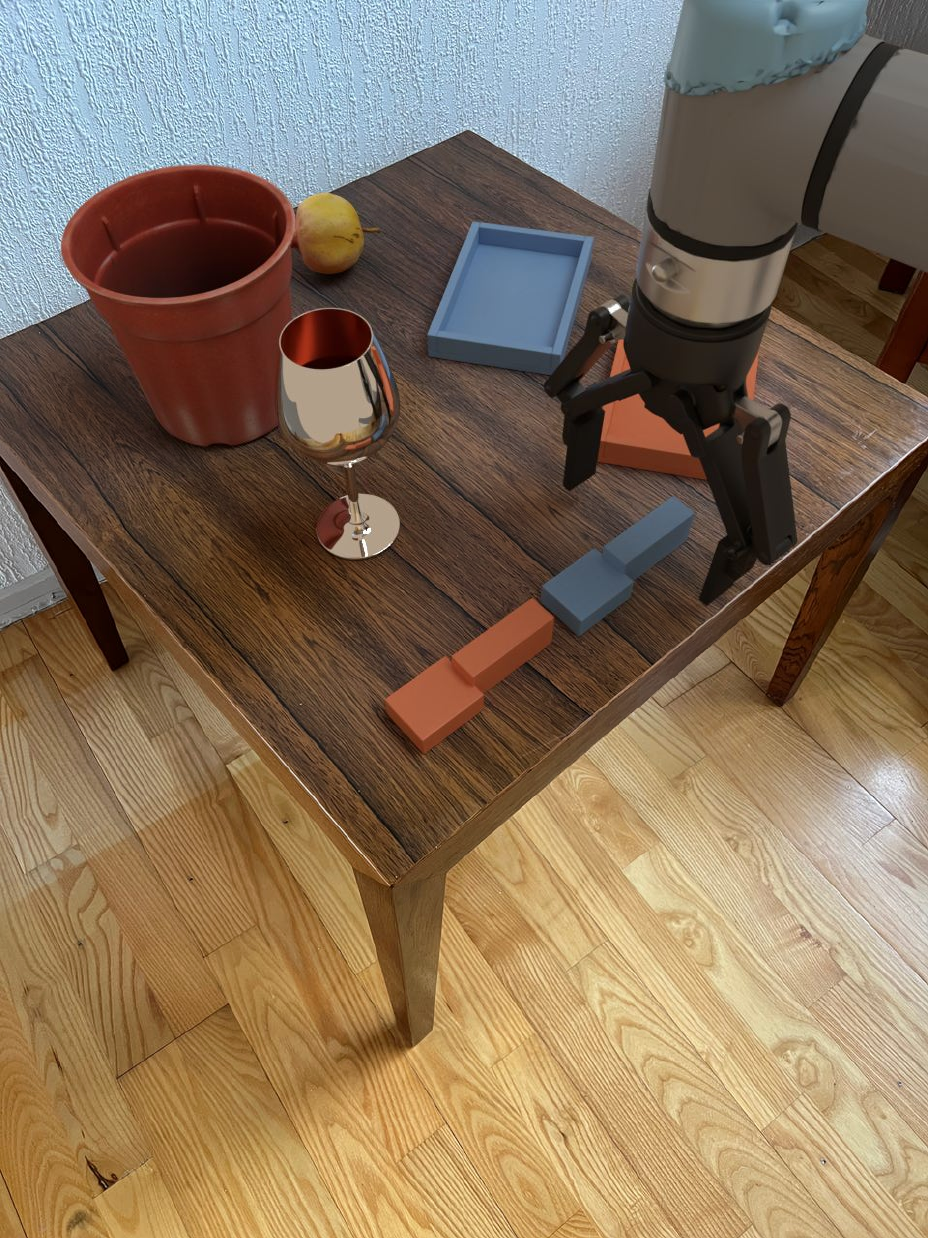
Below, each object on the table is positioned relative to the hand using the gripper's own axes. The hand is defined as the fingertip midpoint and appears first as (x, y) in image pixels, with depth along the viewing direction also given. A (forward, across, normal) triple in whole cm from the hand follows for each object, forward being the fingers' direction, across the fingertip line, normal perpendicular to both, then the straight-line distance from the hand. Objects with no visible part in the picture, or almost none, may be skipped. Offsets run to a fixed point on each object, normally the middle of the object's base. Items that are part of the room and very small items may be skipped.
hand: (644, 534), depth 69 cm
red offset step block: (+2, 0, -16) cm, 17 cm away
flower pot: (+3, -34, -14) cm, 37 cm away
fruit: (+3, -43, +3) cm, 43 cm away
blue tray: (+3, -28, +12) cm, 30 cm away
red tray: (+2, -9, +14) cm, 17 cm away
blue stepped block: (+2, 0, -2) cm, 3 cm away
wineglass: (+3, -16, -14) cm, 22 cm away
